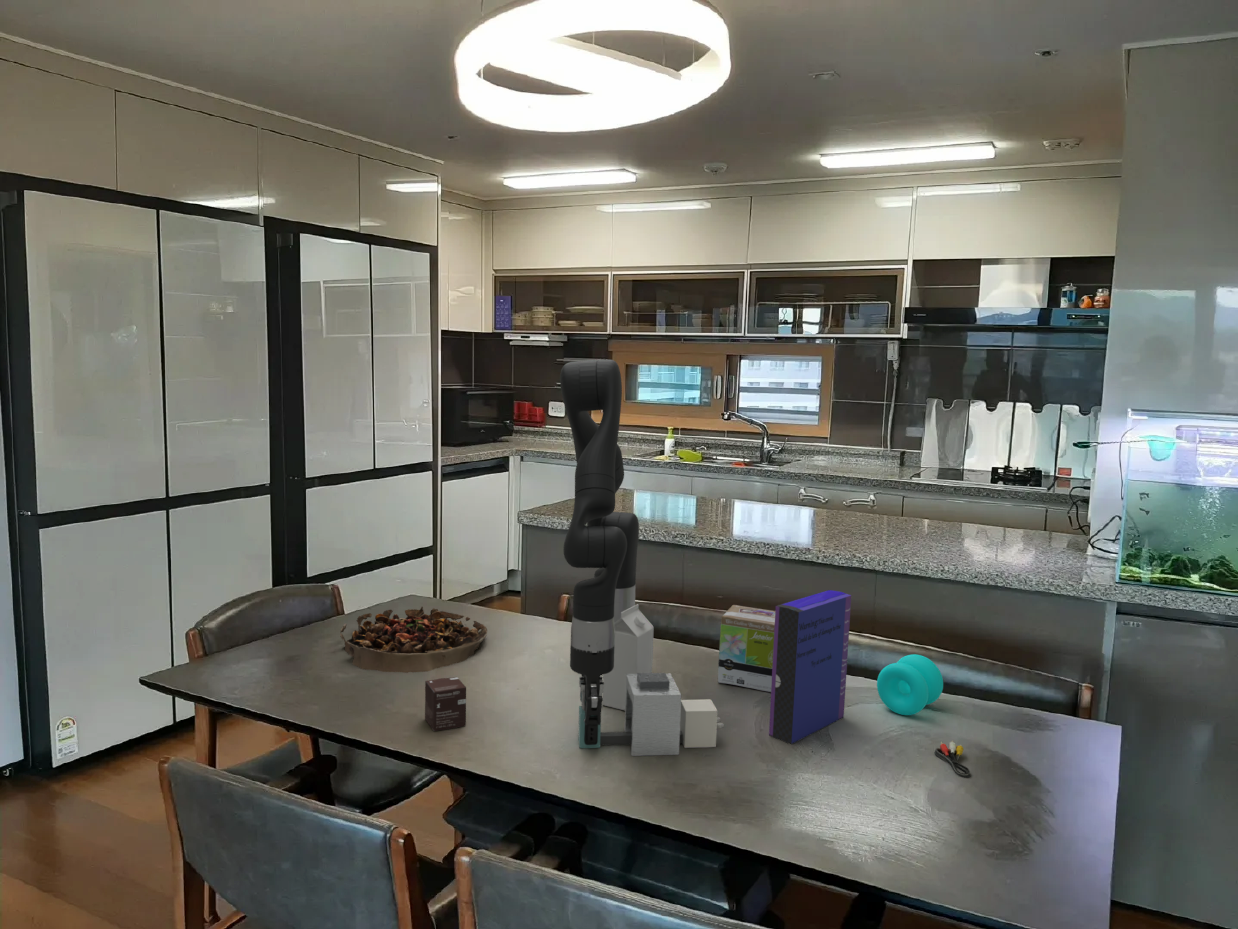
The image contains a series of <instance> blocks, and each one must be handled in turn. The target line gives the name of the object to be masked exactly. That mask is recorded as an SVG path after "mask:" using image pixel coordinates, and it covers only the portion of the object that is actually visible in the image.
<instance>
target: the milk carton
mask: <svg viewBox="0 0 1238 929" xmlns="http://www.w3.org/2000/svg"><path fill="white" fill-rule="evenodd" d="M639 606H640V605H639V604H638V603H637V604H635V606H633V607H631V608H629V609H627V610H625V611H623V612H621V618H620V619H619V620H618V621H616V622H615V623H614V624H615V648H614V668H613V670H612V671H611V672H609V673H607V674H603V676H602V682H604V692H603V693H602V698H603V701H602V706H605V707H610V708H613V709H617V710H621V711H625V699H626V674H637V673H653V659H654V657H653V655H654V631H655V630H654V629H655V628H654V626H653V624H652V623H651V622H650V621H649V620H648V619H647V617H646V616H645V615H644V614H643V613H642V611H641V610H640V609H639Z"/></svg>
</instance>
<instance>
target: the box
mask: <svg viewBox="0 0 1238 929" xmlns="http://www.w3.org/2000/svg"><path fill="white" fill-rule="evenodd" d="M424 684H425V685H424V686H425V687H424V690H425V691H424V692H425V693H424V694H425V695H424V720H425V721H426V723H427V724H429V726H430V728H431V729H432V731H433V732H438V731H444V730H450V729H456V728H461V727H465V726H466V725H467V686H465V684H464V683H463V682H462V681H461V680H460V679H459V677H457V676H454V677H442V678H437V679H431V680H425V683H424Z"/></svg>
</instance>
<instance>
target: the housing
mask: <svg viewBox="0 0 1238 929" xmlns="http://www.w3.org/2000/svg"><path fill="white" fill-rule="evenodd" d="M681 700H682V693H681V691H680V690H679V687H678V686H677V682H676V681H675V679H674V677H673V676H672V673H671V672H668V673H666V672H652V673H637V674H626V699H625V710H624V729H623V730H624V731H623V732H632V736H631V745H630V754H631V756H632V757H638V756H641V757H642V756H645V757H646V756H674V755H675V756H678V755H680V743H679V739H680V714H681Z"/></svg>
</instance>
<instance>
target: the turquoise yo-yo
mask: <svg viewBox="0 0 1238 929" xmlns="http://www.w3.org/2000/svg"><path fill="white" fill-rule="evenodd" d="M876 689H877V693H878V696H879V698H880V700H881V702H882V703H883V704H884V705H885V706H886V708H888V709H889V710H890V711H892V712H893V713H895V714H897V715H898V714H899V715H902V716H912V715H916V714H918V713H919V712H921V711H923V709H924V708H925V707H926V706H927V705H928V706H929V705H931V704H933V703H935V702H936V701H938V699H939V698H940V697H941V695H942V693H943V690H944V679H943V675H942V673H941V670H940V669H939V667H938V666H937V665H936V664H935V663H934V661H933V660H931V659H930V658H929V657H926V656H923V655H921V654H915V653H913V654H908V655H905V656H902V657H901V658H899V660H897V662H893V663H890V664H888V665H886V666H884V667H883V668H882V669H881V670H880V672H879V674H878V676H877V680H876Z"/></svg>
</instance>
